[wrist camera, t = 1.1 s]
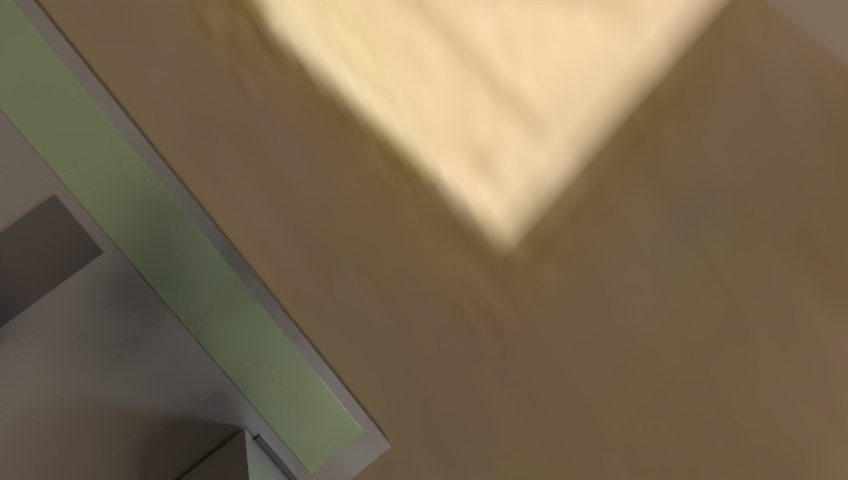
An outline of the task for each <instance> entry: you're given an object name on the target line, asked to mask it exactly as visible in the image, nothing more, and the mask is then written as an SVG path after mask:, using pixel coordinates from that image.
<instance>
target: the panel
mask: <svg viewBox="0 0 848 480" xmlns="http://www.w3.org/2000/svg"><path fill="white" fill-rule="evenodd" d="M244 429H245V430H246V431H247V432H248V433H249V434H250V435H251V437H252V438H253V439H254V440H255V441H256V442H257V444H258V445H259V446H260V447H261V448H262V449H263V450H264V452H265V453H266V454H267V455H268V456H269V457H270V459H271V460H272V461H273V462H274V463H275V464H276V466H277V467H278V468H279V469H280V470H281V471H282V472H283V474H284V475H285V476H286V477H287V478H288V479H289V480H351V479H352V478H353V477H354V476H356V475H357V474H358V473H359V472H360V471H362V470H363V469H364V468H365V467H367V466H368V465H369V464H370V463H372V462H373V461H374V460H375V459H376V458H378V457H379V456H380V455H381V454H383V453H384V452H385V451H386V450H388V449H389V448H390V447H391V444H390V442H389V440H388V439H387V437H386V435H385V433H384V432H383V430H382V429H381V427H380V426H379V425H378V424H377V422H376V421H375V420H374V419H373V417H372V416H371V415H370V414H369V412H368V411H367V410H366V409H365V407H364V406H363V405H362V404H361V402H360V401H359V400H358V399H357V397H356V396H355V395H354V394H353V392H352V391H351V390H350V389H349V387H348V386H347V385H346V384H345V383H344V381H343V380H342V379H341V378H340V376H339V375H338V374H337V373H336V371H335V370H334V369H333V368H332V366H331V365H330V364H329V363H328V361H327V360H326V359H325V358H324V356H323V355H322V354H321V353H320V351H319V350H318V349H317V348H316V346H315V345H314V344H313V343H312V341H311V340H310V339H309V338H308V336H307V335H306V334H305V333H304V331H303V330H302V329H301V328H300V326H299V325H298V324H297V323H296V321H295V320H294V319H293V318H292V316H291V315H290V314H289V313H288V311H287V310H286V309H285V308H284V306H283V305H282V304H281V303H280V301H279V300H278V299H277V298H276V296H275V295H274V294H273V293H272V291H271V290H270V289H269V288H268V286H267V285H266V284H265V283H264V282H263V280H262V279H261V278H260V277H259V275H258V274H257V273H256V272H255V270H254V269H253V268H252V267H251V265H250V264H249V263H248V262H247V260H246V259H245V258H244V257H243V255H242V254H241V253H240V252H239V250H238V249H237V248H236V247H235V245H234V244H233V243H232V242H231V240H230V239H229V238H228V237H227V235H226V234H225V233H224V232H223V230H222V229H221V228H220V227H219V225H218V224H217V223H216V222H215V220H214V219H213V218H212V217H211V215H210V214H209V213H208V212H207V210H206V209H205V208H204V207H203V205H202V204H201V203H200V202H199V200H198V199H197V198H196V197H195V195H194V194H193V193H192V192H191V190H190V189H189V188H188V187H187V185H186V184H185V183H184V182H183V180H182V179H181V178H180V177H179V176H178V174H177V173H176V172H175V171H174V169H173V168H172V167H171V166H170V164H169V163H168V162H167V161H166V159H165V158H164V157H163V156H162V154H161V153H160V152H159V151H158V149H157V148H156V147H155V146H154V144H153V143H152V142H151V141H150V139H149V138H148V137H147V136H146V134H145V133H144V132H143V131H142V129H141V128H140V127H139V126H138V124H137V123H136V122H135V121H134V119H133V118H132V117H131V116H130V114H129V113H128V112H127V111H126V109H125V108H124V107H123V106H122V104H121V103H120V102H119V101H118V99H117V98H116V97H115V96H114V94H113V93H112V92H111V91H110V89H109V88H108V87H107V86H106V84H105V83H104V82H103V81H102V79H101V78H100V77H99V76H98V74H97V73H96V72H95V71H94V70H93V68H92V67H91V66H90V65H89V63H88V62H87V61H86V60H85V58H84V57H83V56H82V55H81V53H80V52H79V51H78V50H77V48H76V47H75V46H74V45H73V43H72V42H71V41H70V40H69V38H68V37H67V36H66V35H65V33H64V32H63V31H62V30H61V28H60V27H59V26H58V25H57V23H56V22H55V21H54V20H53V18H52V17H51V16H50V15H49V13H48V12H47V11H46V10H45V8H44V7H43V6H42V5H41V3H40V2H39V1H38V0H0V480H180V479H181V478H183V477H184V476H185V475H187V474H188V473H189V472H190V471H192V470H193V469H194V468H195V467H197V466H198V465H199V464H201V463H202V462H203V461H204V460H206V459H207V458H208V457H209V456H211V455H212V454H213V453H215V452H216V451H217V450H218V449H220V448H221V447H222V446H223V445H225V444H226V443H227V442H229V441H230V440H231V439H232V438H234V437H235V436H236V435H238V434H239V433H240V432H241V431H243V430H244Z"/></svg>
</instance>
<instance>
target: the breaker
mask: <svg viewBox="0 0 848 480" xmlns="http://www.w3.org/2000/svg"><path fill="white" fill-rule="evenodd" d="M180 480H289V479H288V478H287V477H286V476H285V475H284V474H283V472H282V471H281V470H280V469H279V468H278V467H277V466H276V464H275V463H274V462H273V461H272V460H271V459H270V457H269V456H268V455H267V454H266V453H265V452H264V450H263V449H262V448H261V447H260V446H259V445H258V444H257V442H256V441H255V440H254V439H253V438H252V437H251V435H250V434H249V433H248V432H247V431H246V430H245V429H244V430H243V431H241V432H240V433H239V434H238V435H236V436H235V437H234V438H232V439H231V440H230V441H229V442H227V443H226V444H225V445H223V446H222V447H221V448H220V449H218V450H217V451H216V452H215V453H213V454H212V455H211V456H209V457H208V458H207V459H206V460H204V461H203V462H202V463H201V464H199V465H198V466H197V467H195V468H194V469H193V470H192V471H190V472H189V473H188V474H187V475H185V476H184V477H183V478H181V479H180Z"/></svg>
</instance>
